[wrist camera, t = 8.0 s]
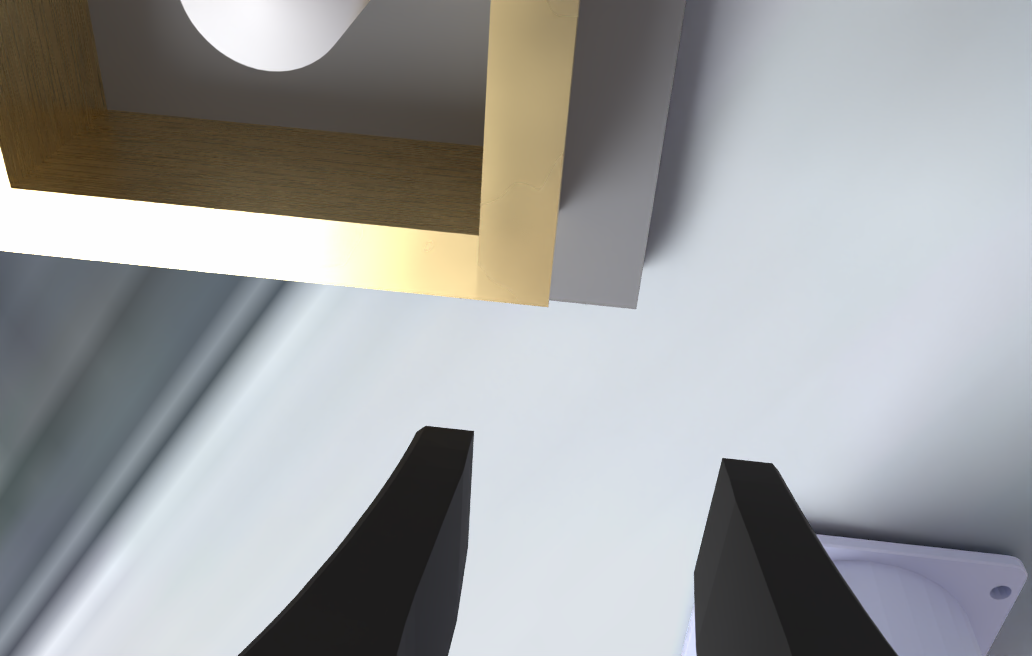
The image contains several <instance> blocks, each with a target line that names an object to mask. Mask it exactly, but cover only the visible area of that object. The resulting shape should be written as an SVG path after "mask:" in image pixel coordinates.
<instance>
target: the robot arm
mask: <svg viewBox="0 0 1032 656" xmlns="http://www.w3.org/2000/svg"><path fill="white" fill-rule="evenodd" d="M473 440H474V431H468V430H459V429H449V428H440V427H431V426H425V427H423V428H422V429H420V430H419V431H417V432H416V434H415V436H414V438H413V440H412V442H411V444H410V445H409V447H408V449H407V451H406V452H405V454H404V456H403V457H402V459H401V460H400V462H399V464H398V465H397V467H396V468H395V470H394V471H393V473H392V475H391V476H390V478H389V479H388V480H387V482H386V483H385V485H384V486H383V488H382V489H381V491H380V492H379V494H378V495H377V496H376V498H375V499H374V501H373V502H372V503H371V505H370V506H369V507H368V509H367V510H366V511H365V513H364V514H363V515H362V517H361V518H360V519H359V521H358V522H357V523H356V525H355V526H354V527H353V528H352V530H351V531H350V532H349V534H348V535H347V536H346V538H345V539H344V540H343V542H342V543H341V544H340V545H339V547H338V548H337V549H336V550H335V551H334V553H333V554H332V555H331V556H330V557H329V558H328V560H327V561H326V562H325V563H324V564H323V565H322V567H321V568H320V569H319V570H318V571H317V572H316V574H315V575H314V576H313V577H312V578H311V579H310V581H309V582H308V583H307V584H306V585H305V586H304V588H303V589H302V590H301V591H300V592H299V593H298V594H297V596H296V597H295V598H294V599H293V600H292V601H291V602H290V603H289V604H288V605H287V606H286V607H285V609H284V610H283V611H282V612H281V613H280V614H279V615H278V616H277V617H276V618H275V619H274V620H273V621H272V622H271V623H270V624H269V625H268V626H267V627H266V628H265V629H264V630H263V631H262V632H261V633H260V634H259V635H258V636H257V637H256V638H255V639H254V640H253V641H252V642H251V643H250V644H249V645H248V646H247V647H246V648H245V649H244V650H243V651H242V652H241V653H240V654H239V655H238V656H448V653H449V649H450V645H451V641H452V637H453V633H454V629H455V626H456V622H457V615H458V609H459V602H460V596H461V589H462V583H463V576H464V569H465V562H466V556H467V549H468V534H469V515H470V496H471V477H472V459H473ZM1027 577H1028V574H1027V572H1026V569H1025V567H1024V565H1023V563H1022V561H1021V560H1019V559H1018V558H1017V557H1013V556H1009V555H1000V554H991V553H981V552H972V551H963V550H954V549H945V548H936V547H927V546H918V545H909V544H900V543H891V542H882V541H873V540H864V539H855V538H846V537H837V536H828V535H819V534H815V532H814V531H813V529H812V528H811V526H810V524H809V523H808V521H807V519H806V518H805V516H804V514H803V513H802V511H801V509H800V508H799V506H798V504H797V502H796V501H795V499H794V497H793V495H792V494H791V492H790V490H789V489H788V487H787V485H786V483H785V482H784V480H783V478H782V476H781V474H780V473H779V471H778V470H777V469H776V467H775V466H774V465H773V464H772V463H763V462H754V461H745V460H736V459H726V458H722V462H721V466H720V470H719V474H718V478H717V482H716V486H715V490H714V494H713V498H712V502H711V506H710V510H709V514H708V518H707V522H706V526H705V530H704V534H703V538H702V543H701V547H700V551H699V555H698V559H697V563H696V567H695V571H694V598H695V602H694V606H693V610H692V614H691V618H690V621H689V625H688V629H687V633H686V637H685V641H684V645H683V649H682V653H681V656H986V655H987V653H988V651H989V649H990V647H991V646H992V644H993V642H994V640H995V638H996V636H997V634H998V633H999V631H1000V629H1001V627H1002V625H1003V623H1004V621H1005V620H1006V618H1007V616H1008V614H1009V612H1010V610H1011V608H1012V607H1013V605H1014V603H1015V601H1016V599H1017V597H1018V595H1019V594H1020V592H1021V590H1022V588H1023V586H1024V584H1025V582H1026V581H1027ZM997 586H1000V587H997ZM995 587H996V588H995Z"/></svg>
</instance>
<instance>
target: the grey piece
mask: <svg viewBox="0 0 1032 656" xmlns="http://www.w3.org/2000/svg"><path fill="white" fill-rule="evenodd" d="M87 2H88V7H89V12H90V18H91V23H92V29H93V34H94V40H95V45H96V51H97V56H98V62H99V67H100V73H101V78H102V84H103V89H104V95H105V100H106V105H107V110H116V111H126V112H136V113H146V114H157V115H167V116H177V117H188V118H198V119H208V120H218V121H229V122H239V123H249V124H260V125H270V126H280V127H290V128H301V129H311V130H321V131H332V132H342V133H352V134H362V135H373V136H383V137H393V138H403V139H414V140H424V141H434V142H445V143H455V144H465V145H475V146H484V126H485V106H486V86H487V66H488V46H489V25H490V5H491V0H87ZM685 6H686V0H580V8H579V18H578V28H577V38H576V48H575V58H574V68H573V78H572V87H571V97H570V107H569V117H568V127H567V137H566V147H565V156H564V166H563V176H562V186H561V196H560V206H559V215H558V224H557V233H556V242H555V251H554V260H553V269H552V277H551V286H550V295H549V300H552V301H562V302H571V303H581V304H591V305H600V306H610V307H620V308H630V309H636V307H637V301H638V295H639V289H640V283H641V276H642V270H643V264H644V258H645V252H646V246H647V240H648V233H649V227H650V221H651V215H652V209H653V203H654V196H655V190H656V184H657V178H658V172H659V166H660V159H661V153H662V147H663V141H664V135H665V129H666V123H667V116H668V110H669V104H670V98H671V92H672V86H673V79H674V73H675V67H676V61H677V55H678V49H679V43H680V36H681V30H682V24H683V18H684V12H685Z"/></svg>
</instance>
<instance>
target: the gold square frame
mask: <svg viewBox="0 0 1032 656" xmlns="http://www.w3.org/2000/svg"><path fill="white" fill-rule="evenodd" d="M579 8H580V0H491V5H490V25H489V46H488V66H487V86H486V106H485V126H484V146H475V145H465V144H455V143H445V142H434V141H424V140H414V139H403V138H393V137H383V136H373V135H362V134H352V133H342V132H332V131H321V130H311V129H301V128H290V127H280V126H270V125H260V124H249V123H239V122H229V121H218V120H208V119H198V118H188V117H177V116H167V115H157V114H146V113H136V112H126V111H116V110H107V105H106V100H105V95H104V89H103V84H102V78H101V73H100V67H99V62H98V56H97V51H96V45H95V40H94V34H93V29H92V23H91V18H90V12H89V7H88V2H87V0H0V251H10V252H19V253H29V254H39V255H48V256H58V257H68V258H78V259H87V260H97V261H107V262H116V263H126V264H136V265H145V266H155V267H165V268H174V269H184V270H194V271H203V272H213V273H223V274H233V275H242V276H252V277H262V278H271V279H281V280H291V281H300V282H310V283H320V284H329V285H339V286H349V287H358V288H368V289H378V290H387V291H397V292H407V293H417V294H426V295H436V296H446V297H455V298H465V299H475V300H484V301H494V302H504V303H513V304H523V305H533V306H542V307H548V304H549V295H550V286H551V277H552V269H553V260H554V251H555V242H556V233H557V224H558V215H559V206H560V196H561V186H562V176H563V166H564V156H565V147H566V137H567V127H568V117H569V107H570V97H571V87H572V78H573V68H574V58H575V48H576V38H577V28H578V18H579Z"/></svg>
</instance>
